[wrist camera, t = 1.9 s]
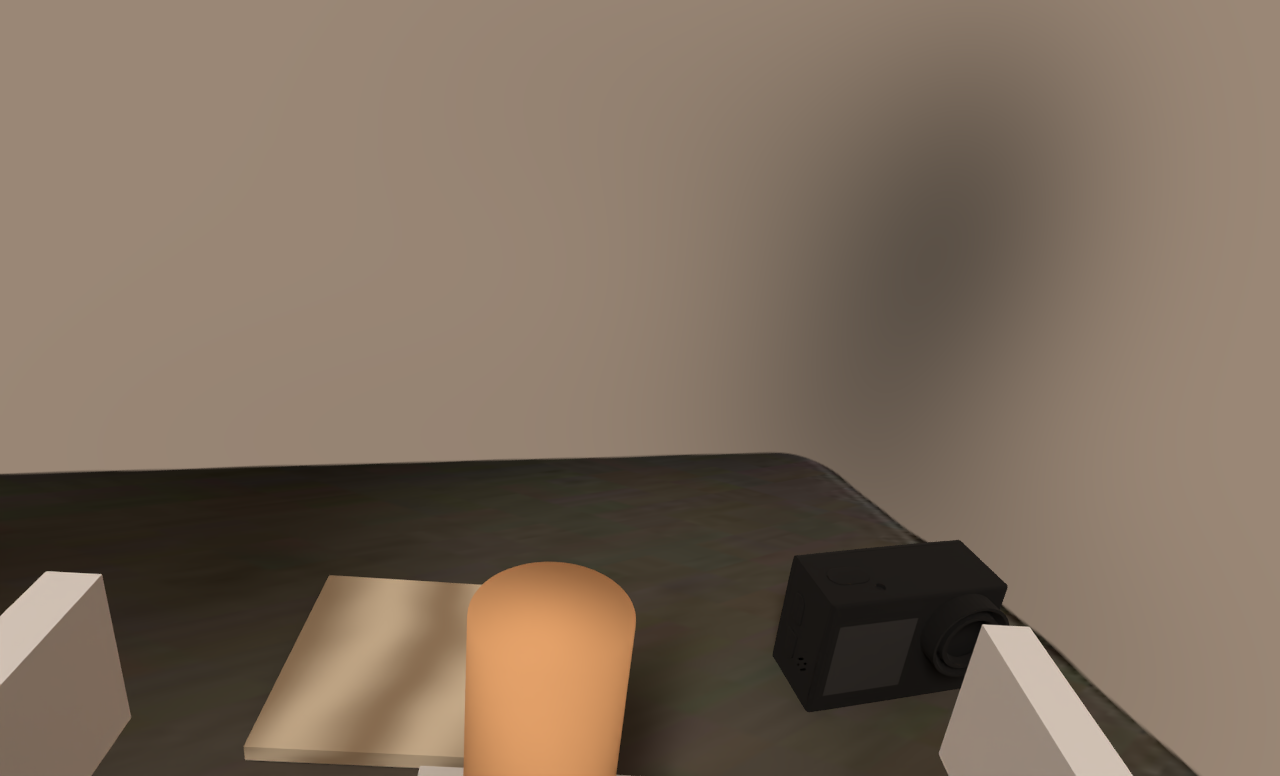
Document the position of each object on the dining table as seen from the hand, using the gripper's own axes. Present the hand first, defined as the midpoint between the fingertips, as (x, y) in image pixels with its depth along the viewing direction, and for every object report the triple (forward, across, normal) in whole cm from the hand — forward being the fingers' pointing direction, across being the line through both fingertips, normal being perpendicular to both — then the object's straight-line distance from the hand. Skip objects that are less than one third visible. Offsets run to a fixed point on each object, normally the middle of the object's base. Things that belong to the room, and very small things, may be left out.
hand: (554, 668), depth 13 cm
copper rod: (+10, 0, -22) cm, 24 cm away
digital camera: (+24, +17, -22) cm, 37 cm away
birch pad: (+23, -7, -22) cm, 33 cm away
